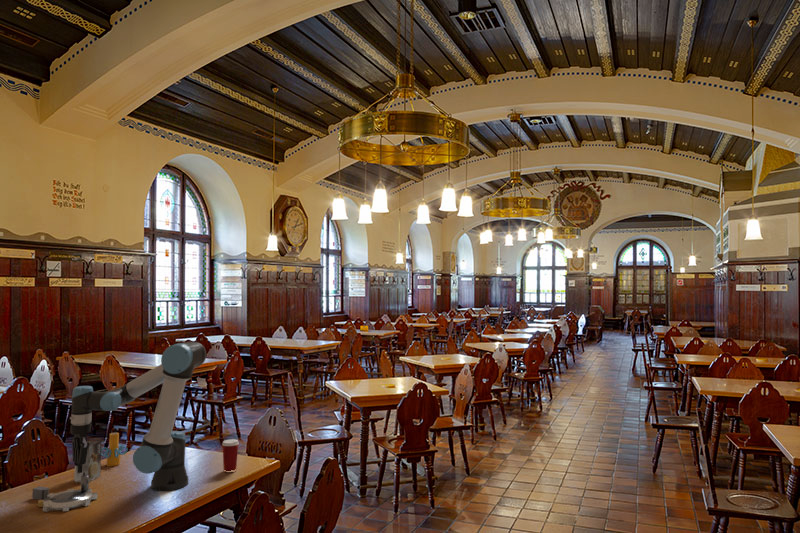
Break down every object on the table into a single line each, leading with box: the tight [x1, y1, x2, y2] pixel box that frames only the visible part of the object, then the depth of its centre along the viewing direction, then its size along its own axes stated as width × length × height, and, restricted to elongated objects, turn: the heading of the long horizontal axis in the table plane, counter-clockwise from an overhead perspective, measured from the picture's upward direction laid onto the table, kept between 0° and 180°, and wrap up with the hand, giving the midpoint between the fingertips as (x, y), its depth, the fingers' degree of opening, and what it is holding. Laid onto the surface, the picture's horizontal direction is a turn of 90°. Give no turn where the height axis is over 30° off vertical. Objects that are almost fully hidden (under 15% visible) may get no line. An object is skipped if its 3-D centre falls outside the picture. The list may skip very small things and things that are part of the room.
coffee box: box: [74, 440, 102, 483], centre depth 246 cm, size 9×6×16 cm
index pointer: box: [31, 485, 50, 501], centre depth 223 cm, size 7×3×4 cm, turn 72°
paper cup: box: [221, 438, 240, 471], centre depth 259 cm, size 8×8×14 cm
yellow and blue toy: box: [101, 432, 129, 467], centre depth 267 cm, size 12×10×15 cm
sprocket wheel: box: [37, 475, 98, 513], centre depth 218 cm, size 20×20×8 cm
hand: (78, 480), depth 230 cm, fingers closed
